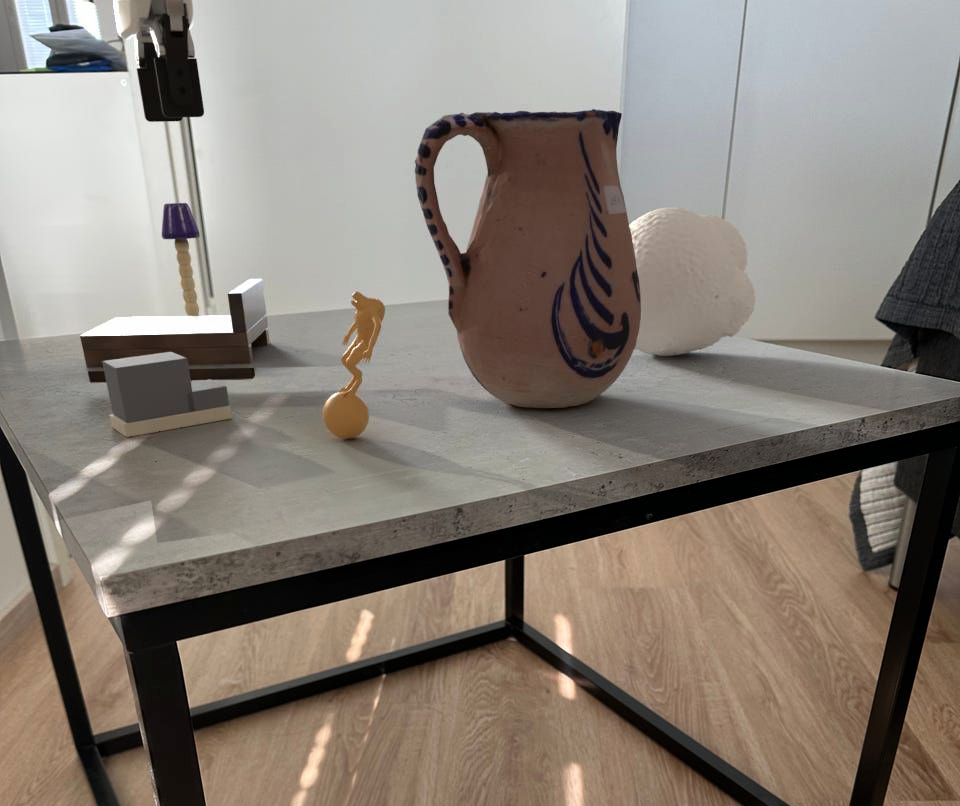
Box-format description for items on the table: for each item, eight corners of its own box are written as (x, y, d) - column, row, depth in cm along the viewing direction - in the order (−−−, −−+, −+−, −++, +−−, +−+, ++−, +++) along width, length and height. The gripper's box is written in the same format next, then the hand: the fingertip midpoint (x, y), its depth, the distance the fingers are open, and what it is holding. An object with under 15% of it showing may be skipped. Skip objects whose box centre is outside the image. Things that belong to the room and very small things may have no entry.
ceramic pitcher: (672, 405, 89) (697, 105, 77) (482, 439, 80) (477, 105, 68) (569, 372, 102) (576, 113, 90) (396, 398, 93) (380, 113, 81)
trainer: (126, 437, 82) (112, 369, 79) (111, 427, 85) (97, 361, 82) (232, 418, 87) (223, 353, 84) (214, 409, 90) (204, 346, 88)
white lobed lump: (556, 352, 112) (559, 208, 105) (649, 333, 122) (658, 200, 115) (690, 378, 99) (704, 215, 91) (782, 354, 109) (802, 205, 102)
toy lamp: (173, 340, 123) (150, 203, 116) (205, 336, 126) (185, 201, 118) (188, 345, 120) (166, 204, 112) (221, 340, 123) (201, 202, 115)
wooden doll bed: (89, 382, 102) (71, 296, 98) (124, 360, 112) (108, 281, 108) (252, 379, 102) (241, 293, 98) (271, 357, 113) (262, 278, 108)
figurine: (316, 428, 84) (302, 288, 78) (380, 421, 86) (371, 283, 80) (335, 453, 77) (321, 301, 71) (404, 445, 79) (396, 296, 73)
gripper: (71, -116, 75) (115, 123, 83) (91, -179, 62) (142, 115, 70) (165, -109, 78) (199, 122, 86) (205, -167, 64) (241, 114, 72)
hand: (173, 119), depth 78 cm, fingers open, 9 cm apart
